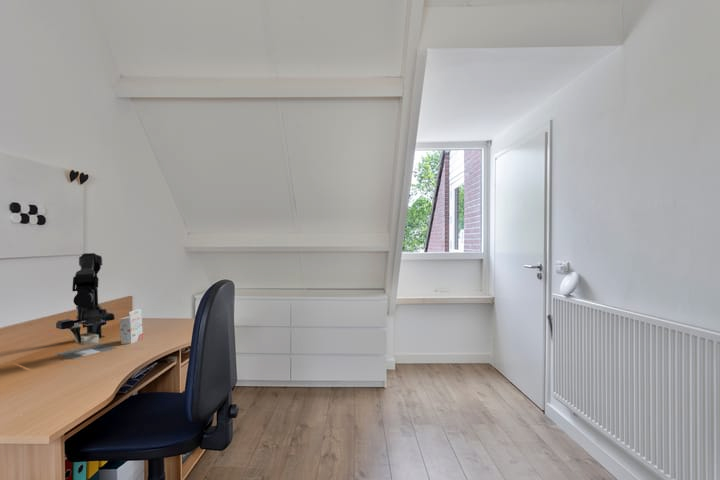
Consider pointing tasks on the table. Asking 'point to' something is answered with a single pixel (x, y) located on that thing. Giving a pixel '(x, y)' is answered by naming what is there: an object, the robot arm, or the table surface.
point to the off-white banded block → (88, 339)
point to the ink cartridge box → (131, 327)
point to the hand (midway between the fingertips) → (87, 341)
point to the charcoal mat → (86, 351)
